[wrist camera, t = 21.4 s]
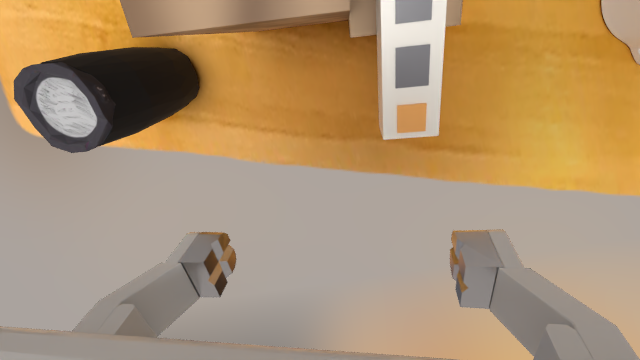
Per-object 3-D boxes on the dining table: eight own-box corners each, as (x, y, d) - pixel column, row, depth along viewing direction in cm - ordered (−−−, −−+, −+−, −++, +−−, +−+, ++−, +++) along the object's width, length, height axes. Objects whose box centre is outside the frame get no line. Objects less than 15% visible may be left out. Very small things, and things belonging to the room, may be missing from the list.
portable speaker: (130, 59, 43) (-19, 80, 26) (186, 33, 41) (67, 37, 24) (163, 116, 47) (52, 169, 29) (216, 95, 45) (132, 139, 27)
